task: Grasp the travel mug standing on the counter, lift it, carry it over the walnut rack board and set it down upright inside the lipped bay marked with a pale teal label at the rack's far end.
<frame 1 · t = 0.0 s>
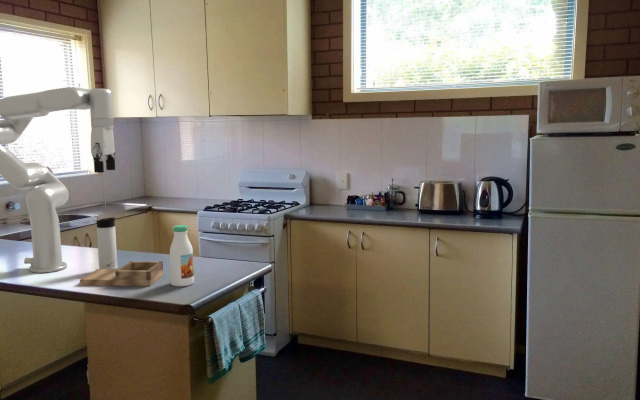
hand: (105, 171, 198), 37 cm above the table, tool pointing down, fingers open, 9 cm apart
milk bottle: (182, 284, 185), on the table
travel mug: (109, 271, 201), on the table
rack: (123, 280, 190), on the table
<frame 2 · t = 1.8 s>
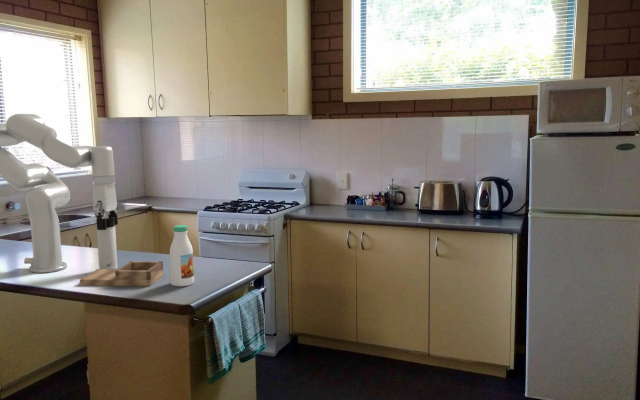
hand: (107, 227, 199), 16 cm above the table, tool pointing down, fingers open, 9 cm apart
nothing on the table moved.
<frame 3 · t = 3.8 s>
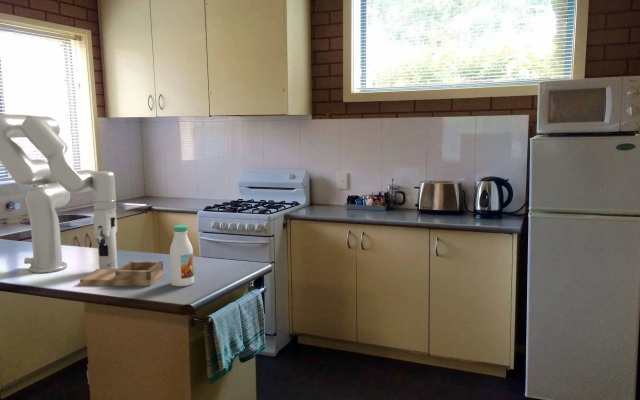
hand: (108, 253, 201), 7 cm above the table, tool pointing down, fingers closed on travel mug, 6 cm apart
travel mug: (109, 271, 201), on the table, touching gripper
everything else where it was.
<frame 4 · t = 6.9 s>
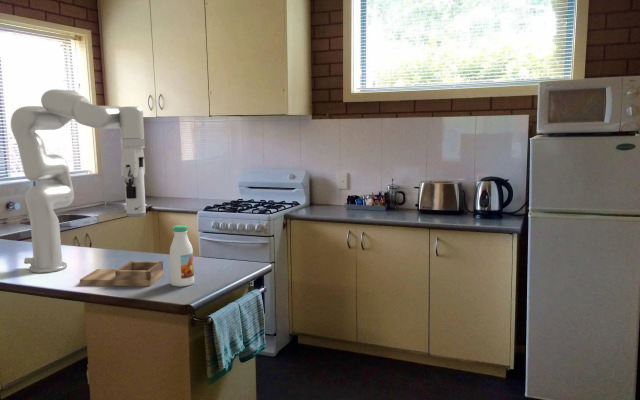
hand: (135, 196, 185), 29 cm above the table, tool pointing down, fingers closed on travel mug, 6 cm apart
travel mug: (136, 216, 186), point 23 cm above the table, touching gripper
everything else where it was.
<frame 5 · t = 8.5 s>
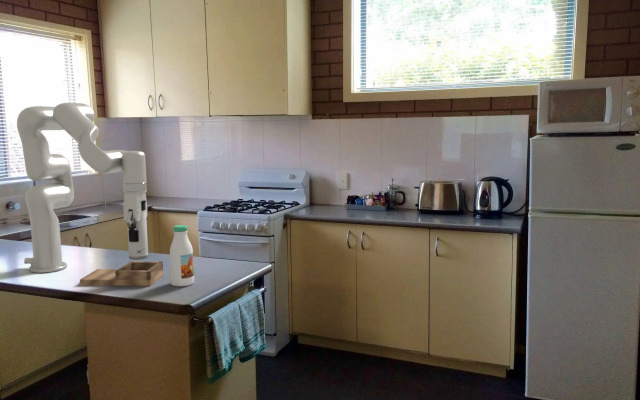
hand: (138, 239, 187), 15 cm above the table, tool pointing down, fingers closed on travel mug, 6 cm apart
travel mug: (139, 258, 188), point 8 cm above the table, touching gripper
everything else where it was.
when the fingers open (10 cm above the table, at t = 10.1 s): travel mug drops 1 cm, resting on rack.
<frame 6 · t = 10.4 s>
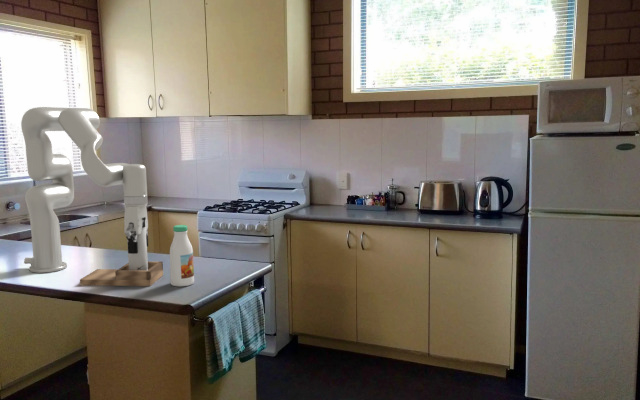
hand: (138, 249, 188), 11 cm above the table, tool pointing down, fingers open, 9 cm apart
travel mug: (139, 274, 189), point 2 cm above the table, touching rack
everything else where it was.
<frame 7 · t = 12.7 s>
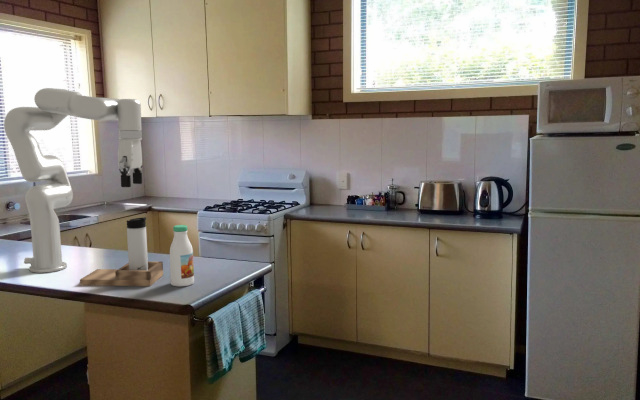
hand: (132, 185, 189), 33 cm above the table, tool pointing down, fingers open, 9 cm apart
nothing on the table moved.
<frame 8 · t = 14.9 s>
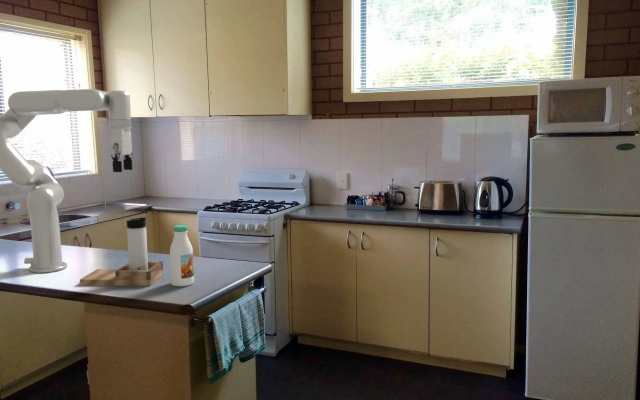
hand: (123, 170, 204), 36 cm above the table, tool pointing down, fingers open, 9 cm apart
nothing on the table moved.
at the end: travel mug inside the target area on the rack (0.3 cm from its centre), point 1.9 cm above the rack's base; travel mug tilted 0°; the gripper is holding nothing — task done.
